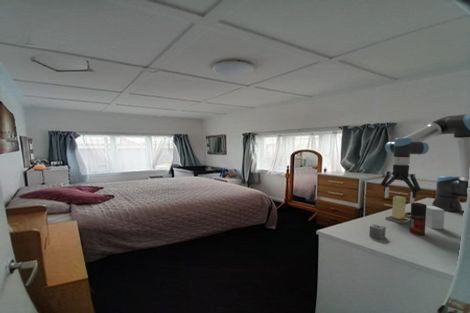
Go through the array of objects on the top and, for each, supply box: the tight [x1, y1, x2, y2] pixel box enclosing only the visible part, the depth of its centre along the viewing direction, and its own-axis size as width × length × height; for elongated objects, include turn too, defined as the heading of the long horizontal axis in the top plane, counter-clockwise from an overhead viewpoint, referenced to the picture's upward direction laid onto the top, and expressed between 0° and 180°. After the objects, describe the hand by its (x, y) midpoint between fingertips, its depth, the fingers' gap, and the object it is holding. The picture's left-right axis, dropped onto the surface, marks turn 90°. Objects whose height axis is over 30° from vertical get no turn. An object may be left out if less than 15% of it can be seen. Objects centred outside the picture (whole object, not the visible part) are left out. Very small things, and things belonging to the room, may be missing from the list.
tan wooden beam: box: [391, 195, 407, 221], centre depth 129 cm, size 4×4×14 cm
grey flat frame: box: [385, 211, 411, 225], centre depth 133 cm, size 24×9×2 cm, turn 115°
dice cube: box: [369, 224, 387, 240], centre depth 107 cm, size 5×5×5 cm
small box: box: [425, 205, 445, 230], centre depth 121 cm, size 8×6×10 cm
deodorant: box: [409, 202, 428, 237], centre depth 111 cm, size 6×6×15 cm
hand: (398, 200), depth 129 cm, fingers open, 13 cm apart
